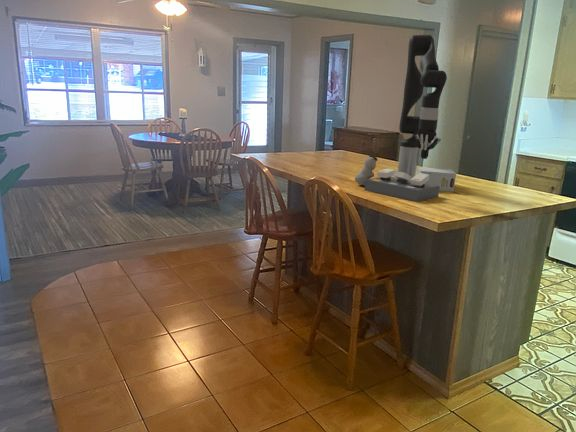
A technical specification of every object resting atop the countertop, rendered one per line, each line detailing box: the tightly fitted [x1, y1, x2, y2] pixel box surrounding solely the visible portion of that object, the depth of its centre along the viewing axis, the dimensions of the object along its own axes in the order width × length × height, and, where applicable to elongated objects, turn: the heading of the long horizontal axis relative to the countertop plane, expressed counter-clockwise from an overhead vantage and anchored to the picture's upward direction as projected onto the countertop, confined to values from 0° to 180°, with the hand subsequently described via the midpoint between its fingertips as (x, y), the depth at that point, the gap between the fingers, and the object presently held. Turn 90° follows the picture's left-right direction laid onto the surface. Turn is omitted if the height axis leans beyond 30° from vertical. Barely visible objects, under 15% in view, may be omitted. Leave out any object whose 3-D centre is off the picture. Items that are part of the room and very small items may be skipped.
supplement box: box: [415, 166, 457, 192], centre depth 226 cm, size 17×13×9 cm
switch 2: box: [393, 170, 412, 181], centre depth 209 cm, size 7×5×2 cm
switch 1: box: [376, 168, 396, 178], centre depth 216 cm, size 7×5×2 cm
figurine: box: [354, 154, 378, 187], centre depth 224 cm, size 9×10×15 cm
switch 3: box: [410, 173, 429, 186], centre depth 203 cm, size 7×5×2 cm
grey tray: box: [364, 176, 440, 203], centre depth 211 cm, size 18×28×6 cm, turn 43°
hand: (424, 158), depth 202 cm, fingers closed
